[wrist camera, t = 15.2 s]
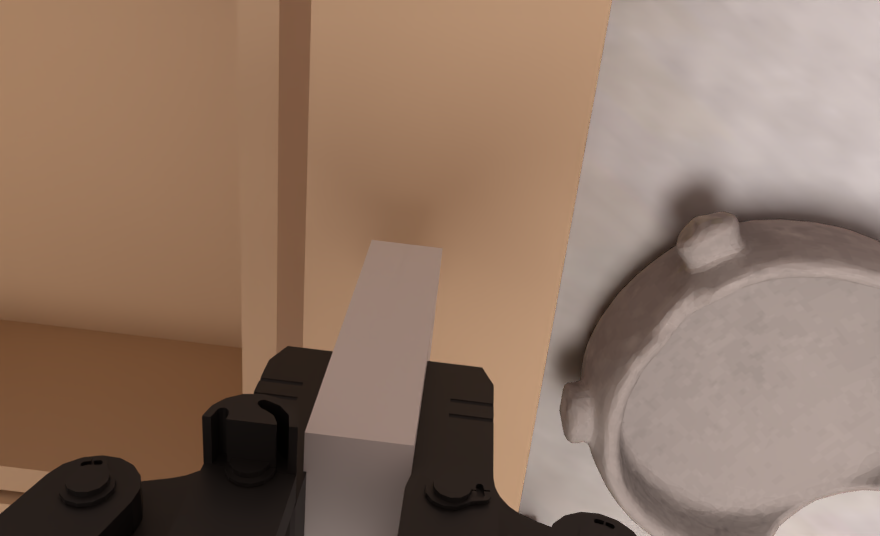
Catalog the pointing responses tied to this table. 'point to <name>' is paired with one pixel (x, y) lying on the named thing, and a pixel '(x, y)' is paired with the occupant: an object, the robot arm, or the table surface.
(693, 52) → the table surface
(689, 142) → the table surface
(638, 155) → the table surface
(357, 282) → the robot arm
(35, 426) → the carton
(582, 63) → the flap
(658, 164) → the table surface
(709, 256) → the dish
